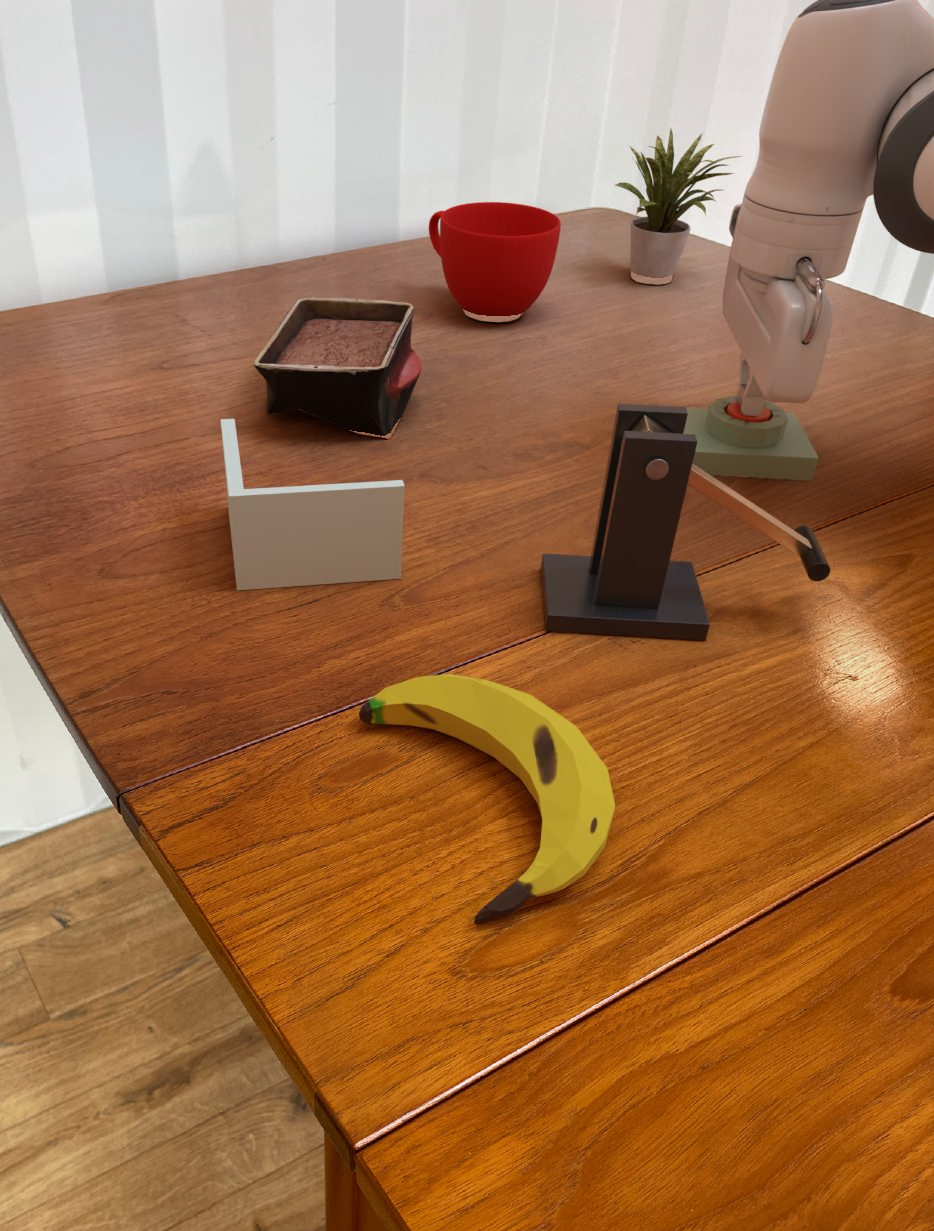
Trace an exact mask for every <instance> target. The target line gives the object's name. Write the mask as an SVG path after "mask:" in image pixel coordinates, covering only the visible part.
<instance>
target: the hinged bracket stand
mask: <svg viewBox="0 0 934 1231" xmlns="http://www.w3.org/2000/svg"><path fill="white" fill-rule="evenodd" d="M644 415H645V416H647V417H648V418H650V419H651V420H653V421H654V422H656V423H657V424H659V425H660V426H662V427H663V428H665V429H666V430H668V431H669V432H671V433H657V432H638V431H632V430H633V429H634V427H635V426H636V425H637V424H638V423H639V421H640V420H641V419H642V418H643V417H644ZM687 415H688V413H687V410H686V406H671V405H653V404H652V405H651V404H634V403H633V404H632V403H617V406H616V412H615V416H614V423H613V428H612V433H611V439H610V446H609V451H608V457H607V461H606V462H607V463H606V468H605V472H604V473H605V474H604V479H603V485H602V491H601V497H600V502H599V508H598V514H597V519H596V525H595V531H594V535H593V541H592V546H591V553H590V555H578V554H577V555H576V554H559V553H542V555H541V561H540V570H539V571H540V580H541V592H542V605H543V616H544V618H543V619H544V629H545V632H550V633H551V632H554V633H567V634H569V633H570V634H584V635H585V634H588V635H602V636H603V635H606V636H620V637H637V638H638V637H640V638H653V639H672V640H688V641H706V640H707V637H708V633H709V630H710V626H711V623H710V619H709V616H708V613H707V609H706V606H705V602H704V599H703V595H702V591H701V589H700V585H699V581H698V578H697V575H696V570H695V567H694V563H693V562H692V561H684V560H683V561H682V560H671V557H672V553H673V549H674V548H673V547H674V544H675V541H676V540H675V539H676V535H677V532H678V527H679V523H680V518H681V514H682V511H683V506H684V501H685V497H686V493H687V488H688V486H689V485H688V480H689V476H690V472H691V468H692V463H693V459H694V455H695V450H696V446H697V439H696V436H695V434H683V433H684V429H685V424H686V420H687ZM621 443H622V446H621Z"/></svg>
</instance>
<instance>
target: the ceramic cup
mask: <svg viewBox="0 0 934 1231" xmlns="http://www.w3.org/2000/svg"><path fill="white" fill-rule="evenodd" d="M561 226H562V222H561V219H560V218H559V217H558V216H557V215H556V214H554V213H553V212H551V211H548V210H546V209H543V208H540V207H535V206H532V205H526V204H521V203H515V202H504V201H503V202H501V201H482V202H481V201H480V202H469V203H468V202H467V203H463V204H458V205H454V206H451V207H449V208H447V209H445V210H438V211H435V212H434V213H433V214H432V215H431V217H430V219H429V221H428V235H429V238H430V242H431V245H432V247H433V249H434V251H435V252H436V254H437V255H438V256H439V257H440V259H441V260H440V262H441V267H442V272H443V275H444V280H445V282H446V286H447V288H448V290H449V293H450V294H451V296H452V298H453V299H454V301H455V302H456V303H457V305H458V306H459V307H460V308H461V310H462V309H464V310H466V311H468V312H471V313H474V314H477V315H486V316H511V315H518V314H521V313H523V312H524V313H525V312H526V311H528V310H529V309H530V308H531V307H532V305H533V304H534V303H535V302H536V301H537V300H538V298H539V297H540V296H541V294H542V293H543V291H544V289H545V287H546V286H547V283H548V282H549V279H550V276H551V274H552V271H553V267H554V264H555V261H556V256H557V251H558V246H559V241H560V235H561ZM524 313H523V314H524Z"/></svg>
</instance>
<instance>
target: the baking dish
mask: <svg viewBox="0 0 934 1231" xmlns="http://www.w3.org/2000/svg"><path fill="white" fill-rule="evenodd" d="M414 316H415V306H414V305H413V304H411V303H409V302H407V301H405V302H404V301H391V300H382V299H369V298H368V299H366V298H351V297H350V298H348V297H313V296H311V297H310V296H309V297H303V298H298V299H296V300H295V301H294V302H293V305H292V306H291V307H290V308H289V309H288V311H287V312H286V314H285V315H284V317H282V320H281V321H280V322H279V325H278V326H277V328H276V329H275V330H274V331H275V332H274V333H273V335H272V336H271V337H270V338H269V339H268V342H267V343H266V344H265V345H264V347H263V349H262V350H261V351H260V353H258V355H257V356H256V358H255V360H254V362H253V367H254V369H256V371H257V372H258V373H259V374H260V375H261V376H262V377H263V378H264V380H265V389H266V414H268V415H273V414H278V413H284V412H291V411H296V410H299V411H301V412H304V413H306V414H308V415H311V416H313V417H316V418H317V419H320V420H323V421H325V422H328V423H330V424H332V423H333V424H332V425H334V424H335V426H337V427H339V426H340V428H341V427H343V428H342V429H344V428H345V429H344V430H346V429H347V430H346V431H348V430H352V431H357V432H365V433H370V434H375V435H380V436H382V435H383V436H385V435H387V434H388V433H391V431H392V429H393V427H394V426H395V424H396V423H397V422H398V420H399V419H400V418H401V417H402V418H403V416H404V414H405V411H406V409H407V407H408V404H409V401H410V399H411V396H412V394H413V392H414V390H415V387H416V386H417V382H418V380H419V378H420V375H421V372H422V369H423V368H422V366H423V364H422V361H421V358H420V357H419V355H417V353H416V352H415V351H414V349H413V348H412V334H413V325H414ZM402 418H401V419H402Z"/></svg>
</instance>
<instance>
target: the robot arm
mask: <svg viewBox="0 0 934 1231" xmlns="http://www.w3.org/2000/svg"><path fill="white" fill-rule="evenodd" d="M760 120H761V121H760V124H759V130H758V131H759V132H758V138H759V139H758V140H759V141H758V142H759V148H758V149H759V150H758V156H757V161H756V164H755V167H754V170H753V171H752V173H751V176H750V178H749V180H748V182H747V184H746V185H745V186H746V187H745V190H744V193H743V197H742V202H741V203H738V204H735V205H734V207H733V208H732V211H731V215H730V220H729V225H728V230H729V234H730V235H731V237H732V241H731V244H730V250H729V253H728V254H729V255H728V261H727V267H726V273H725V278H724V284H723V292H722V315H723V317H724V320H725V321H726V323H727V326H728V327H729V329H730V331H731V334H732V335H733V337H734V340H735V341H736V343H737V346H738V348H739V349H740V351H741V353H740V355H739V371H738V373H739V374H738V384H737V389H736V394H735V396H736V397H735V398H736V401H737V402H738V405H739V407H740V410H741V412H742V414H743V415H745V416H759V415H761V414H762V412H763V409H764V405H765V402H766V401H769V402H772V403H783V404H785V403H786V404H792V403H793V404H805V403H808V402H809V400H810V399H811V398H812V396H813V395H814V394H815V391H816V389H817V387H818V384H819V380H820V376H821V372H822V369H823V365H824V362H825V357H826V353H827V348H828V345H829V340H830V336H831V331H832V326H833V319H834V305H833V302H832V298H831V297H830V296H829V295H828V294H827V292H826V291H825V289H824V288H825V287H826V280H828V279H833V278H837V277H839V276H840V275H842V274H843V273H844V272H845V270H846V269H847V268H846V267H847V264H848V262H849V258H850V255H851V251H852V249H853V245H854V242H855V238H856V235H857V231H858V228H859V225H860V222H861V219H862V214H863V212H864V209H865V205H866V202H867V199H868V198H869V197H871V196H873V203H874V207H875V210H876V213H877V216H878V218H879V221H880V222H881V224H882V226H883V227H884V229H885V230H886V231H887V232H888V233H889V235H891V236H892V237H893V239H895V240H896V241H898V242H899V243H901V244H902V245H903V246H905V247H907V248H909V249H912V250H915V251H917V252H920V253H921V252H922V253H924V254H932V255H934V17H933V16H932V15H931V14H930V13H929V12H928V11H927V10H926V9H925V7H923V5H922V4H921V3H920V2H919V0H816V1H813V2H812V3H811V4H810V5H808V6H807V7H805V9H803V11H802V12H801V13H800V14H798V15H797V17H796V18H794V21H793V22H792V24H791V26H790V28H789V30H788V32H787V34H786V36H785V39H784V41H783V44H782V46H781V49H780V52H779V55H778V58H777V61H776V65H775V67H774V71H773V74H772V78H771V81H770V84H769V89H768V92H767V96H766V100H765V104H764V108H763V110H762V116H761V119H760Z"/></svg>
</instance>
